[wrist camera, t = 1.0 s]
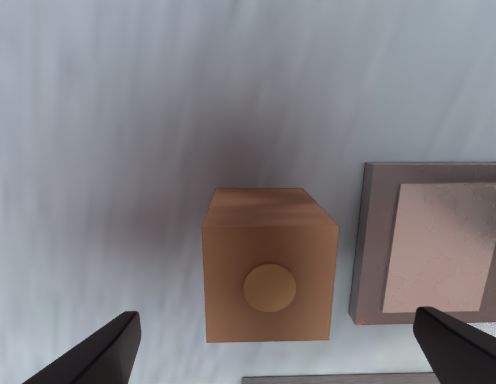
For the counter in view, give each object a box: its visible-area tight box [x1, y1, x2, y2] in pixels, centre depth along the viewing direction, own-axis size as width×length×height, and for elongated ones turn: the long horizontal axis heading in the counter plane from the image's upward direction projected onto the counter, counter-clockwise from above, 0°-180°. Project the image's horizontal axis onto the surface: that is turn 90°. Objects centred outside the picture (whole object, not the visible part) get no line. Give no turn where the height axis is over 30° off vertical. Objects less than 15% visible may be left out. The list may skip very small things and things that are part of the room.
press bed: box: [349, 162, 496, 325], centre depth 16 cm, size 9×10×1 cm
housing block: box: [202, 188, 339, 343], centre depth 13 cm, size 5×5×6 cm
